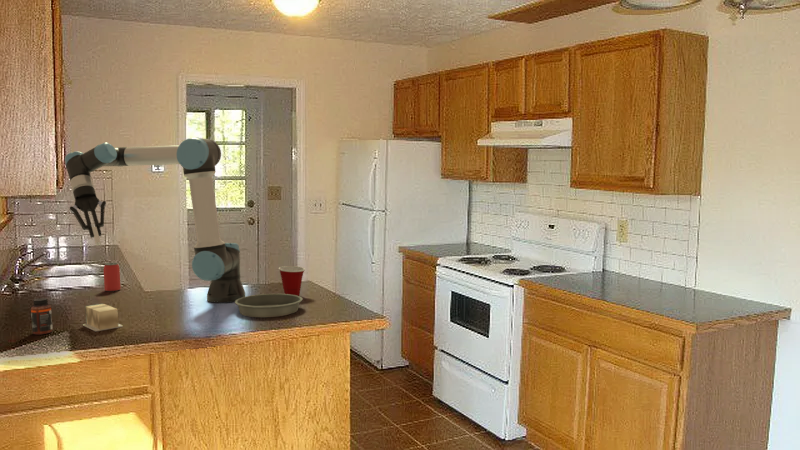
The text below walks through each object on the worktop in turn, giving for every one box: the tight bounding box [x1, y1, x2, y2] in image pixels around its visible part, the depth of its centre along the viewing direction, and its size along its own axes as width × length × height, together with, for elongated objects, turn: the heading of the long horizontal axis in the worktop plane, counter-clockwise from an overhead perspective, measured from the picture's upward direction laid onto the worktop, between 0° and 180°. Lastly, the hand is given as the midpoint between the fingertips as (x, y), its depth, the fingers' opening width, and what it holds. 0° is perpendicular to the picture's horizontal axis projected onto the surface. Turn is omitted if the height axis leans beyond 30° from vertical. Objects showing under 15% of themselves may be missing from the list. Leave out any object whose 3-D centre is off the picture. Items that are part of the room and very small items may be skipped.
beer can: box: [103, 262, 122, 293], centre depth 296 cm, size 7×7×12 cm
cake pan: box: [234, 293, 303, 318], centre depth 250 cm, size 25×25×4 cm
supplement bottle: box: [30, 297, 54, 336], centre depth 221 cm, size 6×6×11 cm
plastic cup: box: [278, 265, 306, 296], centre depth 276 cm, size 11×11×12 cm
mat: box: [82, 323, 124, 332], centre depth 230 cm, size 12×9×1 cm
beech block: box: [84, 303, 119, 331], centre depth 230 cm, size 6×6×13 cm
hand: (98, 243), depth 249 cm, fingers closed
